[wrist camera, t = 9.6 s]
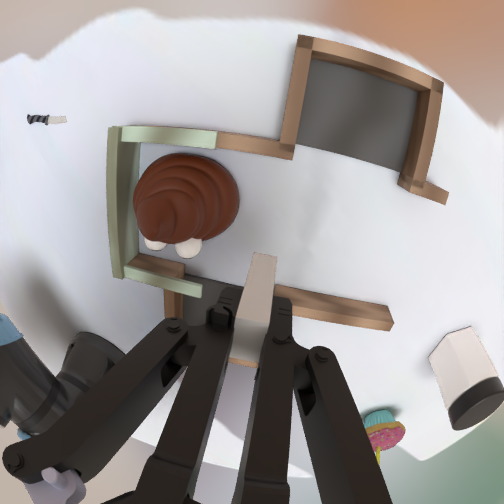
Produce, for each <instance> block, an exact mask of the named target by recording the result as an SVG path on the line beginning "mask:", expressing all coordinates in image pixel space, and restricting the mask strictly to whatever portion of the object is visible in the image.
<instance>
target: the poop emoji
mask: <svg viewBox="0 0 504 504" xmlns="http://www.w3.org/2000/svg"><path fill="white" fill-rule="evenodd" d="M133 208H134V212H135V216H136V219H137V224H138V227H139V229H140V231H141V233H142V235H143V236H144V241H145V244H146V246H147V247H148V248H149V249H151V250H153V251H159V250H161V249H163V248H164V247H165V246H166V245H167V244H175V248H176V251H177V253H178V254H179V255H180V256H181V257H183V258H184V259H190V258H193V257H194V256H196V255H197V254H198V253H199V251H200V249H201V246H202V241H204V240H208V239H211V238H213V237H215V236H217V235H219V234H221V233H222V232H224V231H225V230H226V229H227V228H228V227H229V226H230V225H231V224H232V222H233V221H234V219H235V217H236V215H237V212H238V208H239V193H238V189H237V186H236V183H235V181H234V179H233V178H232V176H231V175H230V173H229V172H228V171H227V170H226V169H225V168H224V167H222V166H221V165H220V164H218V163H217V162H215V161H213V160H211V159H208V158H205V157H202V156H197V155H188V154H183V153H175V154H169V155H166V156H163V157H161V158H159V159H157V160H156V161H154V162H153V163H152V164H151V165H150V166H149V167H148V168H147V169H146V170H145V172H144V173H143V175H142V177H141V178H140V180H139V181H138V183H137V185H136V187H135V190H134V194H133Z"/></svg>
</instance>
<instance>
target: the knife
mask: <svg viewBox="0 0 504 504" xmlns="http://www.w3.org/2000/svg"><path fill="white" fill-rule="evenodd" d="M27 120H28V123H29V124H31V123H33V122H42V123H45V125H48V123H49V124H59V123H65V122H67V120H66V116H61V117H49V115H47V116H40V115H34V116H30V115H28V116H27Z"/></svg>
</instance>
